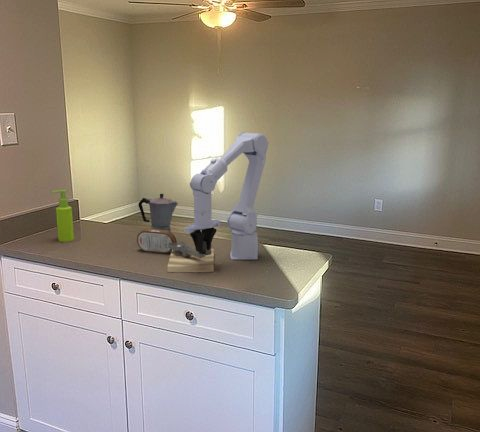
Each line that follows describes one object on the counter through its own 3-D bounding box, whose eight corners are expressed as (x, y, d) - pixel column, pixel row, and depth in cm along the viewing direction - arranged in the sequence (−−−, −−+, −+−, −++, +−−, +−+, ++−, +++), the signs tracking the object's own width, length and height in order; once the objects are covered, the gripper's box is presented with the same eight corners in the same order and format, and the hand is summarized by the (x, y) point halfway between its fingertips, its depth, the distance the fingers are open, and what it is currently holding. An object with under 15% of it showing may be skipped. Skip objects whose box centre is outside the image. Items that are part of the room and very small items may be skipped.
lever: (166, 252, 174) (165, 232, 173) (175, 249, 178) (175, 230, 176) (200, 263, 163) (200, 242, 161) (210, 260, 166) (210, 239, 164)
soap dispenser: (55, 239, 197) (51, 189, 193) (73, 237, 200) (69, 188, 196) (56, 242, 192) (52, 192, 188) (74, 240, 195) (71, 191, 190)
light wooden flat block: (172, 254, 179) (171, 239, 178) (213, 254, 180) (213, 239, 179) (167, 272, 161) (167, 256, 159) (213, 271, 162) (213, 255, 160)
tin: (177, 252, 181) (176, 230, 179) (173, 255, 178) (173, 232, 176) (140, 249, 185) (139, 227, 183) (136, 251, 182) (135, 229, 180)
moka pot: (177, 248, 187) (176, 196, 182) (136, 247, 187) (134, 195, 182) (180, 241, 196) (179, 191, 191) (142, 240, 196) (140, 191, 192)
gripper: (194, 216, 153) (195, 258, 156) (226, 209, 164) (226, 248, 167) (179, 212, 158) (180, 253, 161) (211, 206, 168) (212, 244, 172)
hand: (203, 250), depth 164 cm, fingers open, 3 cm apart
